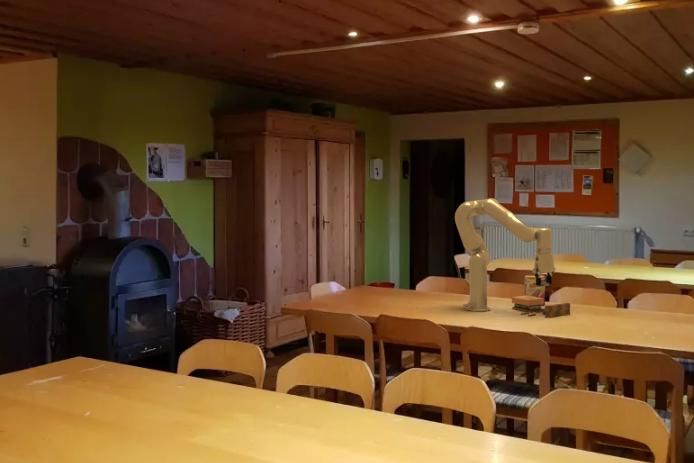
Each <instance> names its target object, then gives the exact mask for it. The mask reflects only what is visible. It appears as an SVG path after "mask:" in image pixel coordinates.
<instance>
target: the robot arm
mask: <svg viewBox="0 0 694 463" xmlns="http://www.w3.org/2000/svg"><path fill="white" fill-rule="evenodd" d="M483 215H487V216H488V217H489V218H492V219H493V220H494V221H495V222H497V223H498V224H500V225H501V226H502V227H503V228H504V229H506V231H509V233H511V234H512V235H513V236H514V237H517V238H518V239H519V240H521V241H522V242H524V243H531V242H534V241H536V250H535V253H536V254H535V257H534V267H533V268H532V270H531V273H532V275H533V276H535V278H536V285H541V278H540V276H542V274H546V276H545V279H548V280H549V281H550V285H552V284H553V282H552V278H553V275H554V273H555V271H556V270H557V269H556V268H555V263H554V257H553V253H552V229H551V228H549V227H538V228H537V227H530V226H527V225H525V224H524V223H523V222H521V221H520V220H519V219H517V218H516V216H515V214H514V213H513V212H512V211H510V210H509V209H507V208H506V207H504V206H503V205H502V204H500V203H499V201H498V200H497V199H496V198H492V197H491V198H486V199H478V200H471V201H470V200H469V201H464V202H463V203H461V204H460V205H459V206H458V208H457V209H456V210H455V213H454V221H455V224H456V227H457V228H456V229H457V230H458V233H459V234H458V235H459V236H460V237H459V238H460V239H461V242H462V245H463V247H464V248H465V250H467V251H468V252H469V253H470V257H469V259H468V272H469V301H468V302H467V303H463V304H462V307H463V308H466V309H467V310H468V311H471V312H488V311H490V310H491V307H490V306H488V272H487V271H488V269H487V266H488V265H489V264H490V262H491V260H490V259H491V258H490V254H489V251H488V248H487V246H486V244H485V241H484V239H483V237H482V235H480V234H478V232H476V230H475V227H474V224H473V223H472V220H471V217H475V216H476V217H477V216H483Z"/></svg>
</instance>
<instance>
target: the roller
mask: <svg viewBox="0 0 694 463" xmlns="http://www.w3.org/2000/svg"><path fill="white" fill-rule="evenodd" d="M550 285H551V284H550V281H549V280H548V279H546V278H545V280H541V285H536V286H537V287H541V286H545V287H549V286H550Z"/></svg>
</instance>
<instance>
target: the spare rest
mask: <svg viewBox="0 0 694 463" xmlns="http://www.w3.org/2000/svg"><path fill="white" fill-rule="evenodd" d="M520 315H521V316H525V315H527V317H530V318H531V317H536V316H537V313H530V312H526V311H525V312H521V313H520Z"/></svg>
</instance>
